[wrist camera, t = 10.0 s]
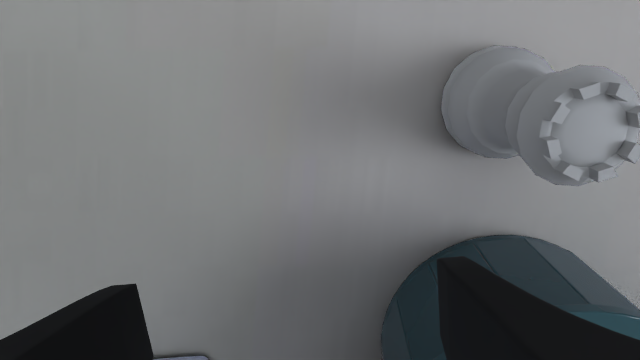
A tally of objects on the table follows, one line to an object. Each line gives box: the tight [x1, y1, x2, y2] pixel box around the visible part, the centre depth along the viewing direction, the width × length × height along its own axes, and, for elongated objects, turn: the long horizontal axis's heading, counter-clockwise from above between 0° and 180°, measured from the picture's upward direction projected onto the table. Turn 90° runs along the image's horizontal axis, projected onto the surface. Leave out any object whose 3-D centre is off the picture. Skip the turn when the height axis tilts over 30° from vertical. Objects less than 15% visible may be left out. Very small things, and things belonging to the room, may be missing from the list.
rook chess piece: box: [441, 46, 640, 186], centre depth 15 cm, size 4×4×8 cm
